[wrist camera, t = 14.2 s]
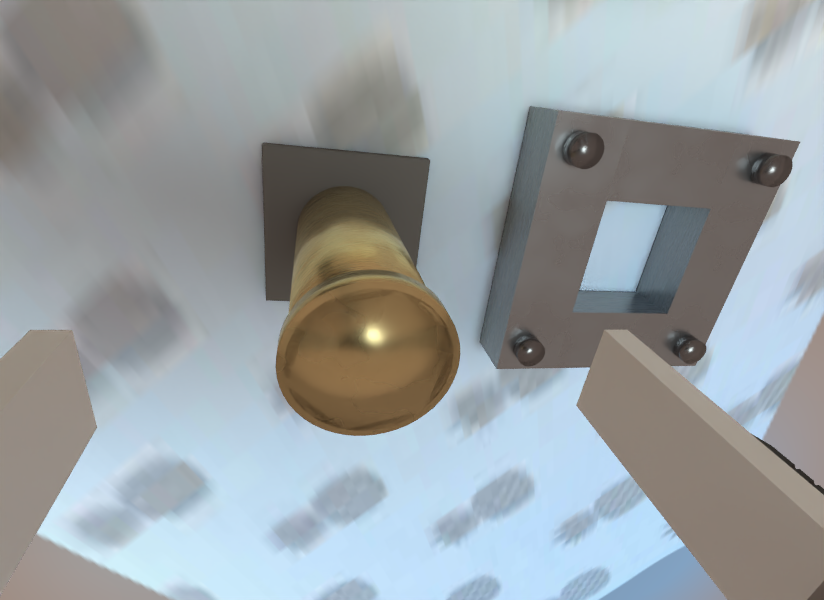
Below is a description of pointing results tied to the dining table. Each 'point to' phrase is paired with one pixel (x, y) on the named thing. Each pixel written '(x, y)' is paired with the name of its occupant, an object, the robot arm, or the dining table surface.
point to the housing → (578, 224)
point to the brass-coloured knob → (361, 322)
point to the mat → (325, 168)
